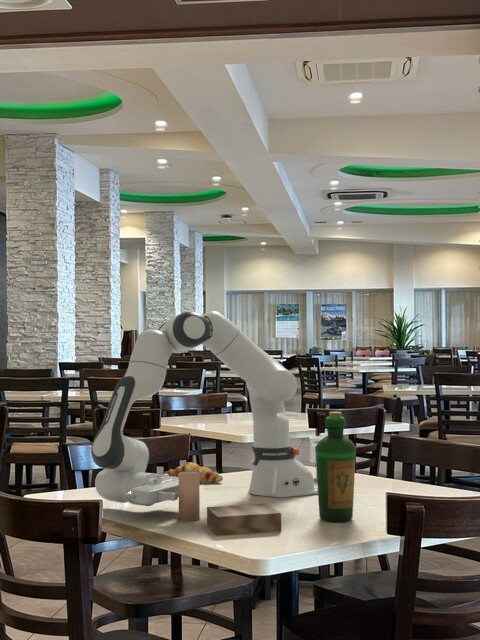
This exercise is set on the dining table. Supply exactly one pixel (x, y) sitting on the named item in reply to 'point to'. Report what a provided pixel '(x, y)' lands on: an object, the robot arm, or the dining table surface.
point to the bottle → (335, 472)
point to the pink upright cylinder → (189, 496)
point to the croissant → (204, 472)
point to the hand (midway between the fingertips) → (186, 494)
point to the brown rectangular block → (243, 519)
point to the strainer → (312, 447)
